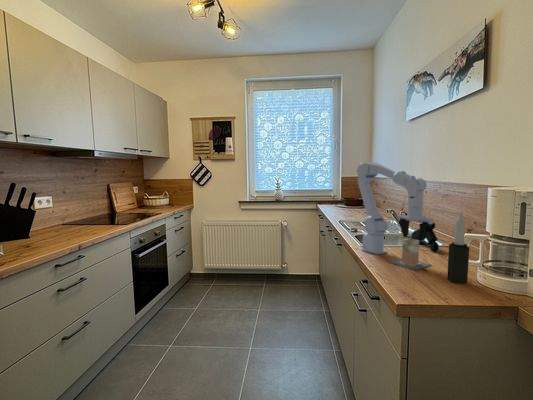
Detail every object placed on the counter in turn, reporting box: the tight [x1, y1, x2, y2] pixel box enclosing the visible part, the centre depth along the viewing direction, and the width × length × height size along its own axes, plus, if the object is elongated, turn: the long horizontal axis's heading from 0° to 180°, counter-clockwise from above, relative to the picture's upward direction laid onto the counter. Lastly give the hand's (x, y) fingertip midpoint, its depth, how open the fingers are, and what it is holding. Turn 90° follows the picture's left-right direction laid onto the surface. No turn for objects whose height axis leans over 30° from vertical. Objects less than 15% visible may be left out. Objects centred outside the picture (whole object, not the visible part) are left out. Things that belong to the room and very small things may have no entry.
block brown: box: [401, 250, 420, 265], centre depth 119 cm, size 4×4×5 cm
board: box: [388, 257, 432, 271], centre depth 120 cm, size 12×11×1 cm
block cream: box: [401, 237, 420, 253], centre depth 119 cm, size 4×4×5 cm
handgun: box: [410, 221, 439, 252], centre depth 148 cm, size 5×23×15 cm, turn 174°
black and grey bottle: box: [446, 211, 470, 285], centre depth 99 cm, size 5×5×25 cm
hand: (413, 238), depth 122 cm, fingers open, 7 cm apart
